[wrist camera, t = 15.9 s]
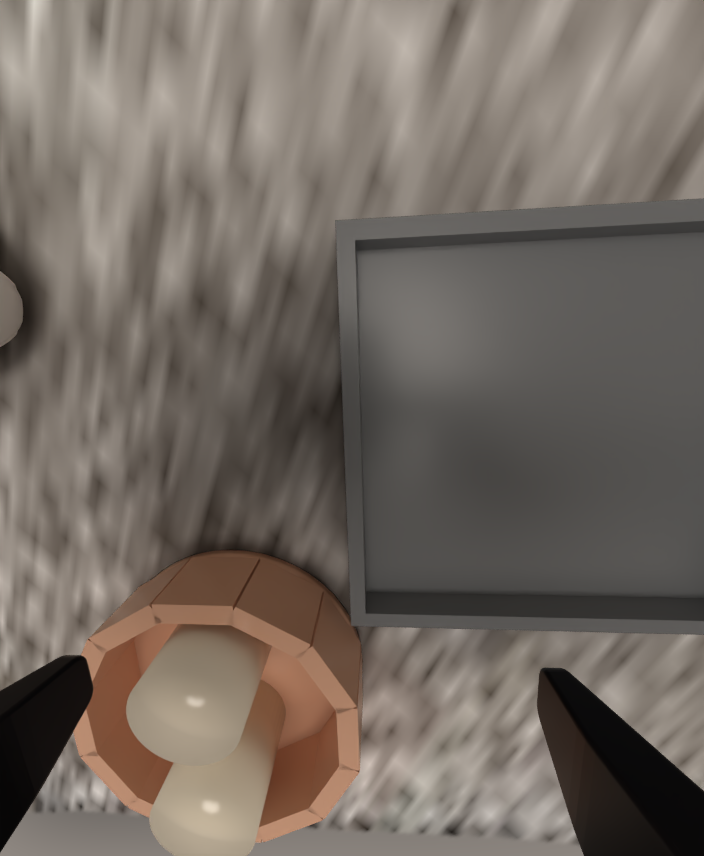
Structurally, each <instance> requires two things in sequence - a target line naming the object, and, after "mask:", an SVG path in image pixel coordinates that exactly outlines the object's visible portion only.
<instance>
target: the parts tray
mask: <svg viewBox="0 0 704 856" xmlns="http://www.w3.org/2000/svg"><path fill="white" fill-rule="evenodd" d="M335 224H336V249H337V275H338V301H339V326H340V352H341V378H342V404H343V429H344V455H345V481H346V506H347V532H348V558H349V583H350V609H351V626H371V627H412V628H452V629H493V630H533V631H574V632H615V633H655V634H696V635H704V199H687V200H670V201H653V202H637V203H620V204H603V205H586V206H569V207H553V208H536V209H519V210H502V211H485V212H469V213H452V214H435V215H418V216H401V217H385V218H368V219H351V220H335Z"/></svg>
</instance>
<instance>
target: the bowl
mask: <svg viewBox="0 0 704 856" xmlns="http://www.w3.org/2000/svg"><path fill="white" fill-rule="evenodd" d="M178 624H199V625H231V626H233V627H235V628H237V629H239V630H241V631H243V632H245V633H247V634H249V635H251V636H253V637H255V638H257V639H259V640H261V641H263V642H265V643H267V644H269V645H271V646H272V648H271V651H270V654H269V657H268V660H267V663H266V666H265V668H264V671H263V674H262V677H261V680H263V681H265V682H266V683H268V684H269V685H271V686H272V687H273V688H274V689H275V690H276V691H277V692H278V693H279V694H280V696H281V697H282V699H283V701H284V704H285V708H286V717H285V721H284V726H283V730H282V734H281V738H280V742H279V746H278V750H277V754H276V759H275V763H274V767H273V771H272V775H271V779H270V783H269V787H268V791H267V796H266V800H265V804H264V808H263V812H262V816H261V820H260V824H259V829H258V833H257V837H256V841H255V842H262V841H263V842H266V841H268V840H271V839H274V838H276V837H279V836H281V835H284V834H287V833H290V832H293V831H295V830H298V829H301V828H303V827H306V826H309V825H311V824H314V823H317V822H319V821H322V820H323V819H325V818H326V816H327V815H328V814H329V812H330V811H331V810H332V808H333V807H334V806H335V804H336V803H337V801H338V800H339V799H340V797H341V796H342V795H343V793H344V792H345V791H346V789H347V788H348V787H349V785H350V784H351V783H352V781H353V780H354V779H355V777H356V776H357V775H358V773H359V771H360V754H361V731H362V707H363V685H362V663H363V659H362V650H361V644H360V643H361V642H360V641H359V637H358V633H357V631H356V629H355V626H351V618H350V616H349V615H348V613H347V611H346V610H345V608H344V607H343V605H342V604H341V603H340V602H339V600H338V599H337V598H336V597H335V595H334V594H333V593H332V592H330V591H329V590H328V589H327V588H326V587H325V586H324V585H323V584H322V583H321V582H319V581H318V580H317V579H315V578H314V577H313V576H312V575H310V574H309V573H307V572H305V571H304V570H302V569H300V568H298V567H297V566H295V565H293V564H290V563H288V562H286V561H284V560H281V559H279V558H275V557H272V556H269V555H266V554H262V553H256V552H251V551H243V550H216V551H210V552H204V553H199V554H196V555H193V556H190V557H187V558H184V559H182V560H180V561H178V562H176V563H174V564H172V565H170V566H169V567H167V568H166V569H164V570H163V571H161V572H160V573H159V574H158V575H157V576H156V577H155V578H154V579H152V580H150V581H148V582H147V583H145V584H143V585H141V586H140V587H139V588H138V589H137V590H136V591H135V592H134V593H133V594H132V595H131V596H130V597H129V598H128V599H127V600H126V601H125V602H124V603H123V604H122V605H121V606H120V607H119V608H118V609H117V610H116V611H115V612H114V613H113V614H112V615H111V616H110V617H109V618H108V619H107V620H106V621H105V622H104V623H103V624H102V625H101V626H100V627H99V628H98V629H97V630H96V632H95V633H94V634H93V635H92V636H91V637H90V638H89V639H88V640H87V642H86V644H85V647H84V649H83V652H82V654H81V656H84V657H85V658H86V660H87V662H88V666H89V670H90V674H91V678H92V682H93V687H94V689H93V695H92V698H91V701H90V703H89V705H88V706H87V708H86V710H85V712H84V714H83V715H82V717H81V719H80V721H79V722H78V724H77V726H76V728H75V730H74V731H73V732H74V736H75V740H76V744H77V748H78V752H79V755H82V756H81V758H82V759H83V760H84V762H85V763H86V764H87V765H88V766H89V767H90V768H91V769H92V770H93V771H94V772H95V773H96V775H97V776H98V777H99V778H100V779H101V780H102V781H103V782H104V783H105V784H106V785H107V786H108V787H109V789H110V790H111V791H112V792H113V793H114V794H115V795H116V796H117V797H118V798H119V799H120V800H121V802H122V803H123V804H124V805H125V806H127V805H129V806H128V808H130V809H132V810H134V811H136V812H138V813H140V814H143V815H145V816H147V817H149V818H150V811H151V809H152V806H153V804H154V802H155V800H156V798H157V796H158V794H159V792H160V790H161V788H162V786H163V784H164V781H165V779H166V777H167V775H168V773H169V771H170V769H171V767H172V765H173V763H174V762H170V761H168V760H165V759H163V758H161V757H159V756H157V755H156V754H154V753H153V752H151V751H150V750H148V749H147V748H146V747H145V746H144V745H143V744H142V743H141V742H140V741H139V740H138V739H137V738H136V736H135V735H134V733H133V732H132V730H131V728H130V726H129V723H128V720H127V715H126V705H127V700H128V697H129V695H130V693H131V691H132V690H133V688H134V687H135V685H136V684H137V683H138V681H139V680H140V678H141V677H142V675H143V674H144V673H145V671H146V670H147V668H148V667H149V665H150V664H151V662H152V661H153V660H154V658H155V657H156V655H157V654H158V652H159V651H160V650H161V648H162V647H163V645H164V644H165V642H166V641H167V640H168V638H169V637H170V635H171V634H172V632H173V631H174V630H175V628H176V627H177V625H178Z"/></svg>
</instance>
